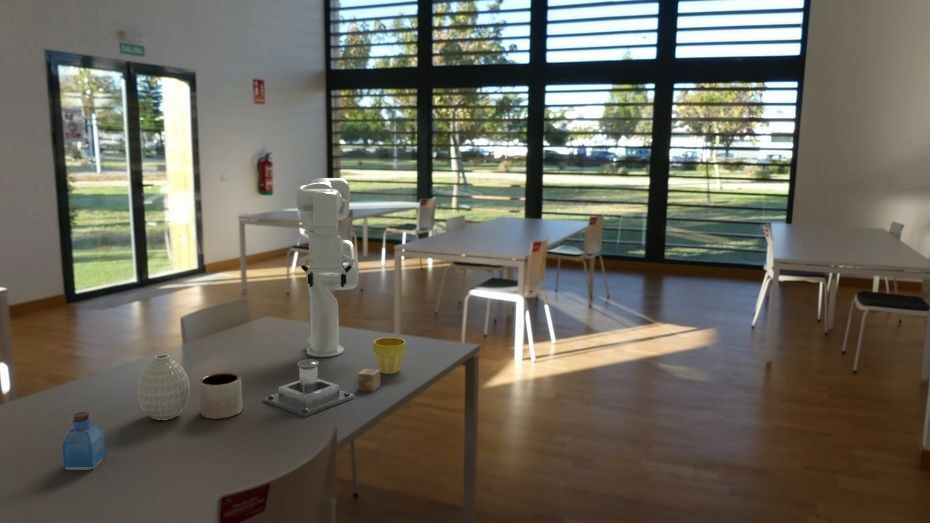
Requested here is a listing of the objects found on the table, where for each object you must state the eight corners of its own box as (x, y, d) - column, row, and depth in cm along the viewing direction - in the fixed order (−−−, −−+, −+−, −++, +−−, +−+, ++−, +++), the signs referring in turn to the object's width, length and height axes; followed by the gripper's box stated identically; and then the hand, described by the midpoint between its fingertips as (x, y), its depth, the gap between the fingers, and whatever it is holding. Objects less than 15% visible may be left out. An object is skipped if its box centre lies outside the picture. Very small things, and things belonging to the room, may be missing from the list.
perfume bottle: (77, 458, 160) (73, 409, 158) (105, 457, 161) (101, 408, 159) (64, 471, 154) (59, 420, 152) (93, 470, 155) (89, 419, 153)
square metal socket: (263, 401, 196) (262, 387, 196) (313, 384, 211) (312, 371, 210) (304, 416, 186) (304, 402, 185) (354, 397, 200) (354, 384, 199)
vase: (166, 429, 177) (162, 366, 174) (128, 421, 181) (123, 360, 179) (202, 411, 189) (198, 352, 186) (164, 404, 193) (160, 346, 190)
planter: (251, 407, 192) (249, 374, 190) (225, 422, 182) (223, 387, 180) (218, 402, 195) (216, 370, 193) (191, 417, 185) (189, 382, 183)
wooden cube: (358, 389, 207) (357, 373, 206) (365, 383, 212) (365, 368, 211) (373, 391, 205) (373, 375, 205) (380, 385, 210) (380, 369, 209)
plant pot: (408, 366, 228) (408, 337, 227) (402, 376, 218) (402, 346, 217) (377, 364, 229) (377, 336, 228) (370, 375, 219) (369, 345, 218)
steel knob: (297, 399, 195) (295, 365, 193) (300, 392, 201) (299, 359, 199) (317, 399, 195) (316, 365, 194) (321, 392, 201) (320, 359, 199)
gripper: (295, 233, 209) (296, 288, 212) (352, 233, 210) (353, 288, 213) (299, 229, 216) (301, 283, 219) (355, 230, 217) (356, 283, 220)
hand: (327, 286), depth 216 cm, fingers open, 9 cm apart
